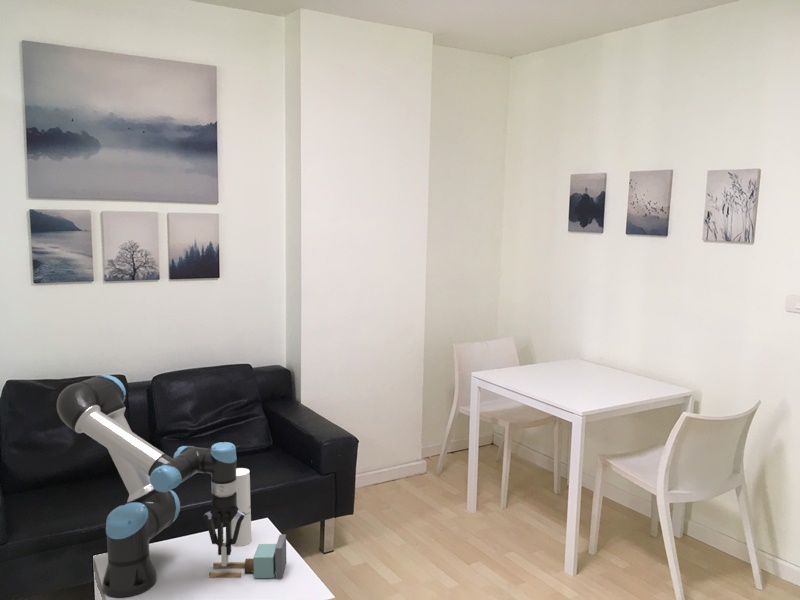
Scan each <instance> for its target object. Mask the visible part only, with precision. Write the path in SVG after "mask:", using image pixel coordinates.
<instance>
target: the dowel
mask: <svg viewBox="0 0 800 600" xmlns="http://www.w3.org/2000/svg"><path fill="white" fill-rule="evenodd" d="M244 562H245V565H244V568H243V570H244V573H254V559H253V558H245V561H244Z"/></svg>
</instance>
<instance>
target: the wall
mask: <svg viewBox="0 0 800 600" xmlns="http://www.w3.org/2000/svg"><path fill="white" fill-rule="evenodd" d="M275 544H276V547H275V565H276V571H275V580H283V579H284V574H285V572H286V571H285V570H286V567H287V534H279V536H278V538H277V542H276V543H275Z"/></svg>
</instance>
